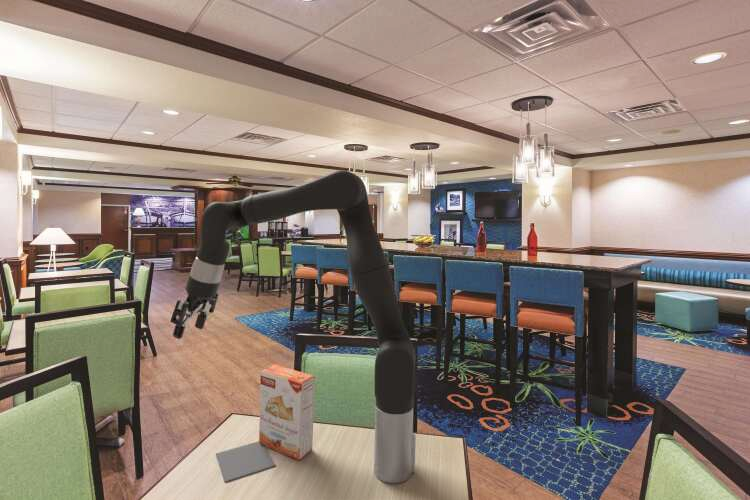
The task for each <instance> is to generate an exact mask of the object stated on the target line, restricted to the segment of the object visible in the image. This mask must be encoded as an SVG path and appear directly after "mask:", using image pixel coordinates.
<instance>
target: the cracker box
mask: <svg viewBox="0 0 750 500" xmlns="http://www.w3.org/2000/svg"><path fill="white" fill-rule="evenodd" d="M315 377H316V376H315V375H313V374H309V373H305V372H302V371H298V370H295V369H292V368H289V367H285V366H282V365H279V364H276V363H275V364H272V365H270V366H269V367H267V368H264V369H262V370H260V382H259V383H260V389H259V390H260V391H259V392H260V393H259V425H258V426H259V429H258V430H259V432H258V433H259V434H258V435H259V437H258V441H259V443H260V444H263V445H265V446H266V448H267V447H268V448H270V449H272V450H274V451H277V452H280V454H284V455H286V456H289V457H291V458H293V459H295V460H297V461H300V460H301V459H302V458H304V456H306V455H307V454H308V453H309V452H311V451H312V450H313V438H314V436H313V433H314V432H313V431H314V413H315V412H314V407H315V405H314V404H315Z"/></svg>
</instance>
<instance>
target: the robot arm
mask: <svg viewBox="0 0 750 500" xmlns="http://www.w3.org/2000/svg"><path fill="white" fill-rule="evenodd" d="M321 210H322V211H325V210H335V211H336V210H337V213H338V215H339V217H340V220H341V223H342V225H343V229H344V232H345V233H344V234H345V237H346V252H347V261H348V269H349V273H350V275H351V278H352V282H353V286H354V289H355V291H356V293H357V297H358V298H359V300H360V302H361V304H362V306H363V308H364V309H365V310H366V312H367V314H368V315H369V317H370V319H371V321H372V324H373V326H374V330H375V334H376V338H377V343H378V352H377V354H376V356H375V361H374V397H375V409H374V410H375V419H374V453H373V455H374V457H373V459H374V460H373V462H374V463H373V473H374V475H375V476H376V477H377V479H378V480H380V481H381V482H383V483H386V484H387V483H388V484H401V483H403V482H406V481H407V480H408V479H409V478H410V477H411V475H412V474H413V473H414V472H416V471H415V468H416V467H415V465H416V443H417V442H416V440H417V439H416V434H415V433H414V430H413V429H414V405H415V403H414V399H415V397H414V390H415V389H414V386H415V383H414V382H415V365H416V359H417V356H416V355H417V354H416V350H415V347H414V344H413V342H412V339H411V337H410V335H409V332H408V330H407V327H406V325H405V323H404V320H403V318H402V314H401V311H400V307H399V301H398V297H397V292H396V289H395V285H394V282H393V276H392V274H391V269H390V268H389V267H390V266H389V264H388V261H387V258H386V255H385V252H384V250H383V247H382V243H381V240H380V239H379V236H378V233H377V230H376V228H375V225H374V223H373V218H372V214H371V209H370V204H369V198H368V192H367V188H366V184H365V182H364V181H363V179H362V178H361V177H360V176H359V175H357V174H355V173H353V172H350V171H348V170H337V171H334V172H331V173H329V174H326V175H325V176H322V177H319V178H317V179H315V180H313V181H309V182H307V183H304V184H300V185H297V186H296V185H295V186H293V187H287V188H281V189H276V190H271V191H268V192H267V191H266V192H261V193H257V194H253V195H248V196H247V197H244V199H241V200H236V201H213V202H210V204H208V205H207V206H206V207H205V209H204V210H203V213H202V216H201V223H200V242H199V246H198V248H197V249H198V250H197V253H196V256H195V259H194V261H193V263H192V265H191V269H190V273H189V275H188V279H187V281H186V285H185V291H186V293H187V297H186V299H185V300H181V299H178V300H177V301H176V304H175V306H174V310H173V312H172V315H171V318H170V323H172V324H173V325H175V327H174V330H173V332H172V336H173V337H174V338H176V339H178V340H180V339H182V338H183V335H184V332H185V329H186V325H187V324H188V322H190V320H192V319H193V318H194V317H195V316H196V315H197V317H196V320H195V322H194V323H195V324H194V326H195V328H196V329H198V330H202V329H204V328H205V327H204V326H205V324H206V320H207V317H209V316H210V314H212V313H214V311H215V308H216V305H217V301H218V297H219V292H218V290H219V287H220V284H221V281H222V278H223V274H224V271H225V265H226V261H227V259H228V255H229V252H230V248H231V246H230V245H231V244H230V243H229V241H228V240H227V239H226V236H227V232H228V231H231V230H235V229H237V230H238V229H241V228H245V227H248V226H250V225H258V224H264V223H269V222H273V221H278V220H281V219H282V220H283V219H285V218H288V217H290V216H291V217H292V216H295V215H298V214H302V213H305V212H310V211H321ZM198 313H199V314H198Z"/></svg>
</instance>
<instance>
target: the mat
mask: <svg viewBox="0 0 750 500" xmlns="http://www.w3.org/2000/svg"><path fill="white" fill-rule="evenodd" d="M215 456H216V459H217V462H218V466H219V468H220V472H221V475H222V478H223V481H224V483H228V482H231V481H233V480H237V479H241V478H243V477H247V476H250V475H253V474H255V473H259V472H262V471H265V470H268V469H271V468H273V467H276V464H275V460H274V459H273V458H272V456H271V454H270V452H269V451H268V448H267V446H265V445H263V444H260V443H259V440H257V441H256V442H252V443H248V444H245V445H241V446H238V447H233V448H231V449H227V450H224V451H219V452H217V453H215Z"/></svg>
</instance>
